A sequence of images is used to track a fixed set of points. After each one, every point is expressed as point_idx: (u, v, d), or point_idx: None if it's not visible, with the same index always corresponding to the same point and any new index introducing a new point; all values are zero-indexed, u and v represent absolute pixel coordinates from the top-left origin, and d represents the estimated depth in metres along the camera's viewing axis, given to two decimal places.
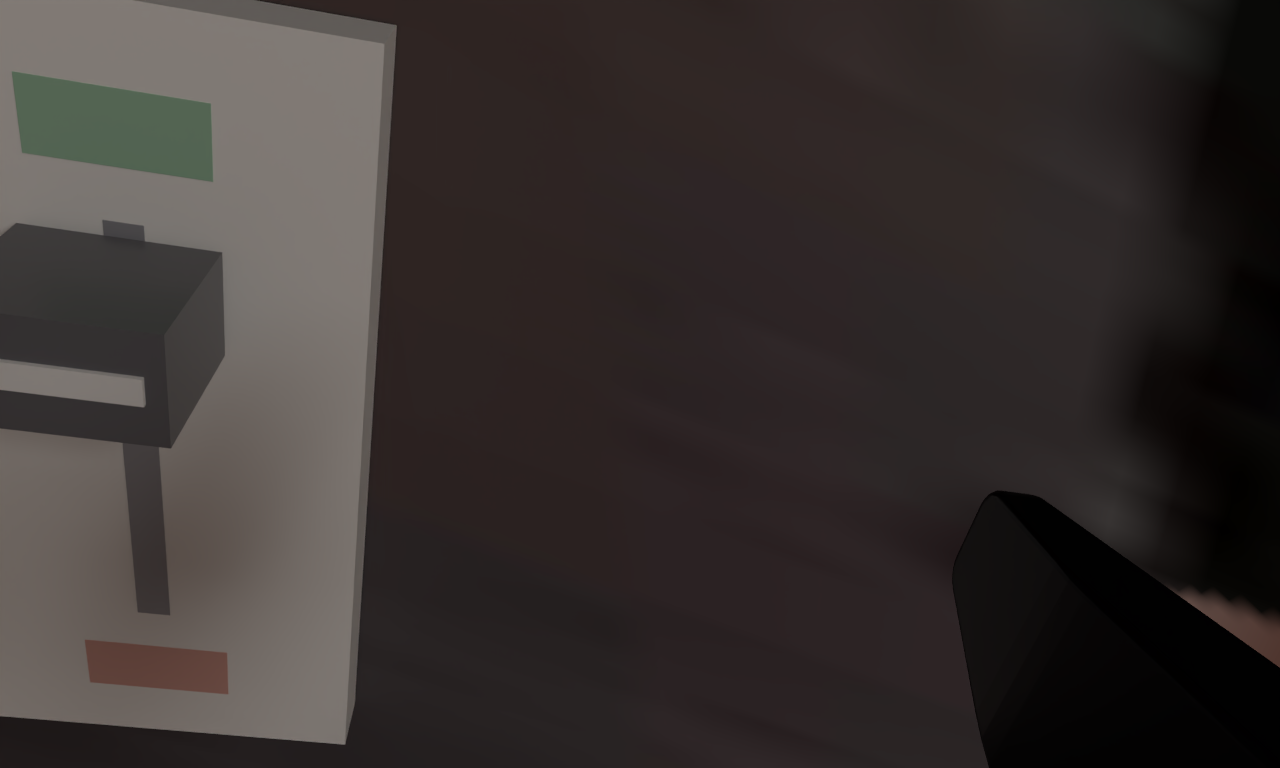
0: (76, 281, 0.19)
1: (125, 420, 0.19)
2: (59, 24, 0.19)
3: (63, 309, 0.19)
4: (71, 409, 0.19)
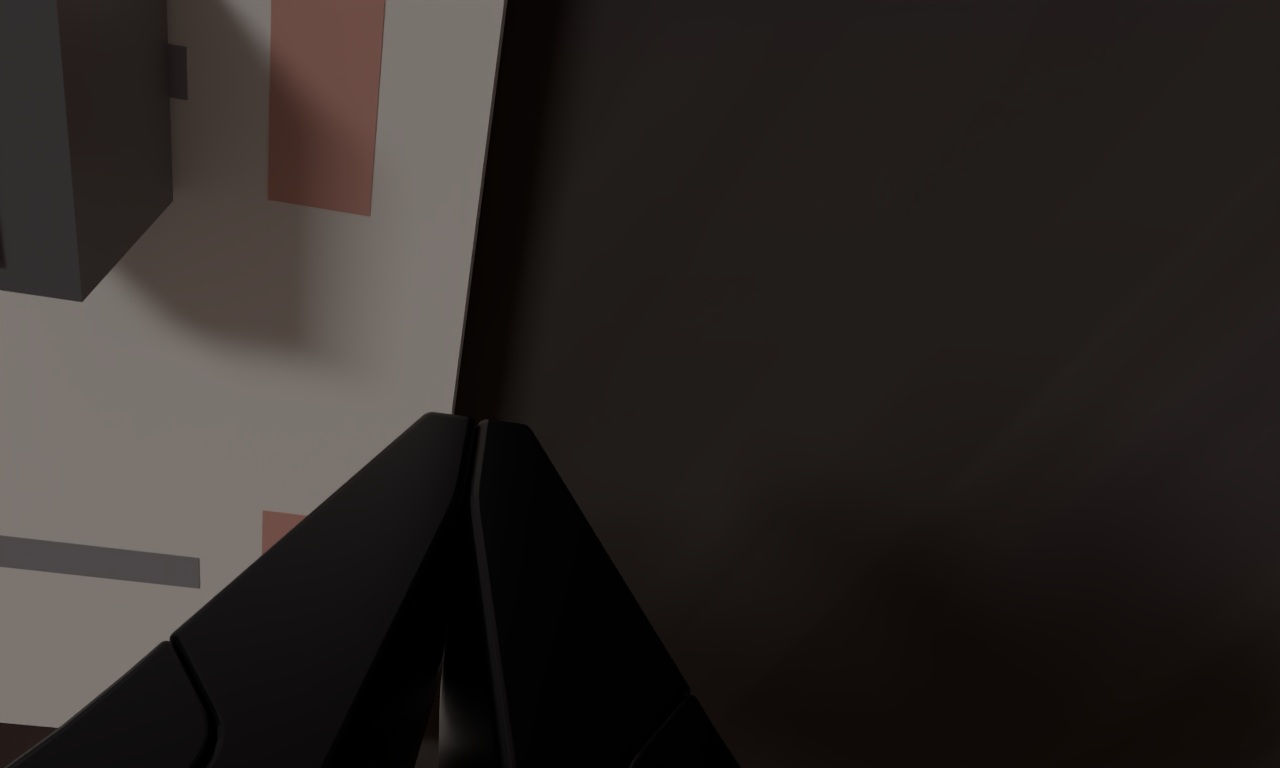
0: None
1: None
2: None
3: None
4: None
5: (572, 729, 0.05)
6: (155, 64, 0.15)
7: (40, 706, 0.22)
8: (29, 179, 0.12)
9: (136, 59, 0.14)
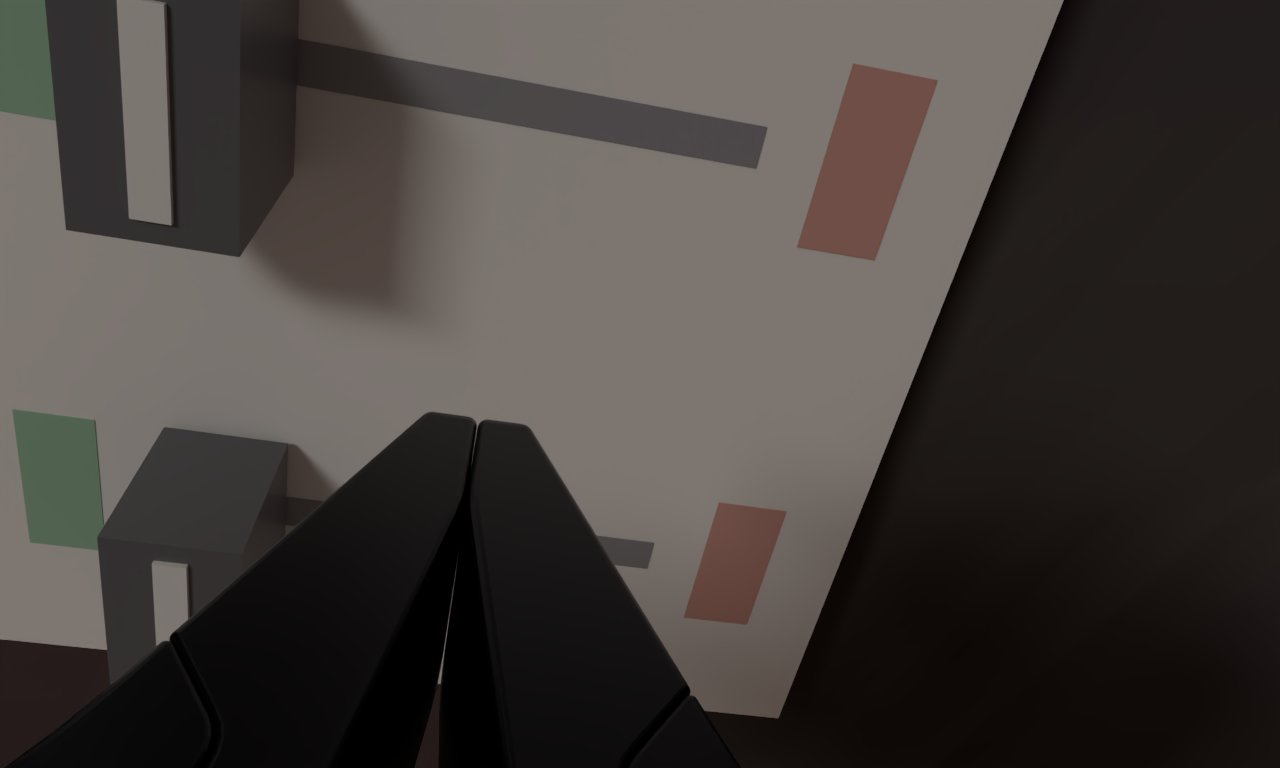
0: None
1: None
2: None
3: None
4: None
5: (573, 729, 0.05)
6: (290, 56, 0.17)
7: None
8: (204, 152, 0.15)
9: (279, 51, 0.16)
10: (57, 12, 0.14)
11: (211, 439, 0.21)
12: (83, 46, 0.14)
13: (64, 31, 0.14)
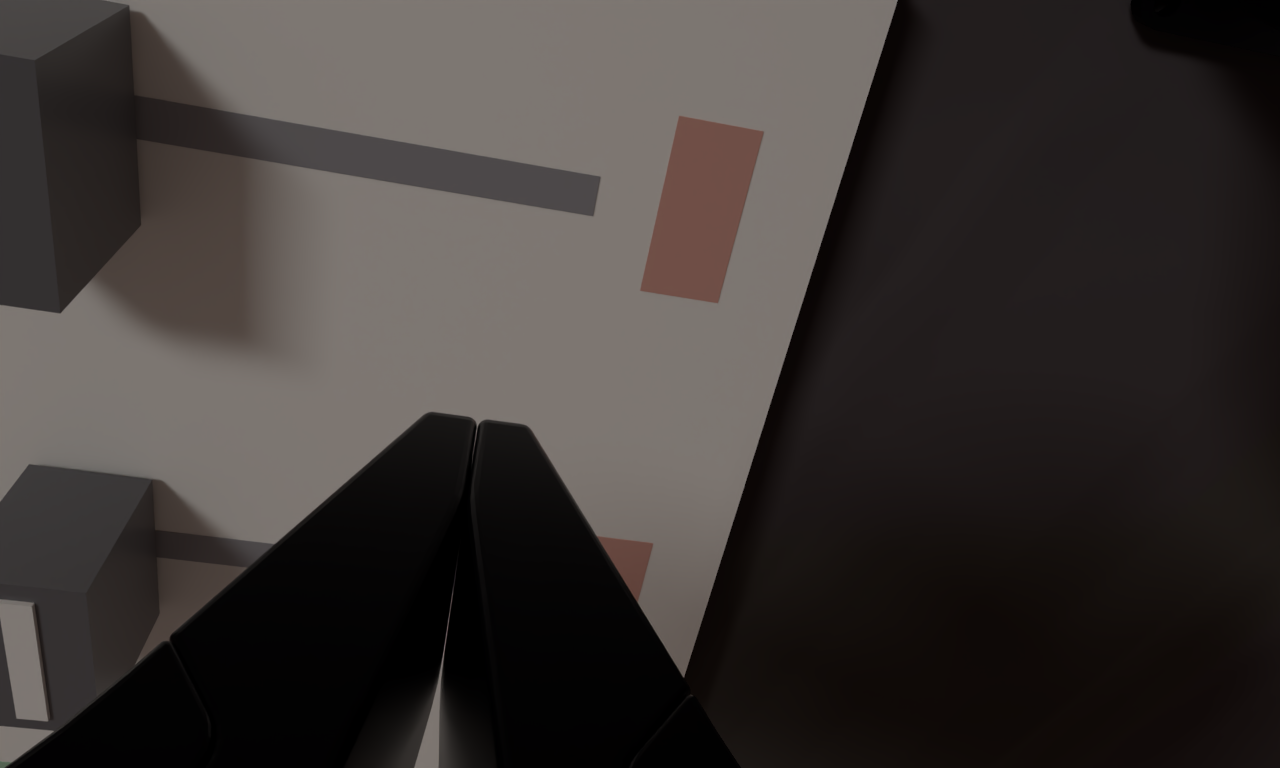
0: None
1: (1, 109, 0.15)
2: None
3: None
4: None
5: (572, 729, 0.05)
6: (147, 555, 0.23)
7: None
8: (69, 679, 0.20)
9: (134, 569, 0.22)
10: None
11: None
12: None
13: None
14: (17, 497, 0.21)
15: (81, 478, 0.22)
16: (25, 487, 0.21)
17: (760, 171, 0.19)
